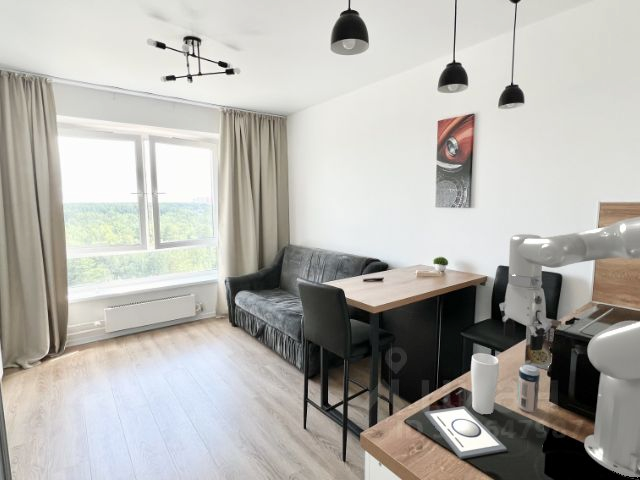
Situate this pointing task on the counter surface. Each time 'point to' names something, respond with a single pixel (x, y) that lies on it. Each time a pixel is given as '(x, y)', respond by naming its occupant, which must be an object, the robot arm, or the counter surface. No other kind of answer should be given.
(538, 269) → the robot arm
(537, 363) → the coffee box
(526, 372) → the beer can
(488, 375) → the drinking glass
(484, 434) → the tablet
